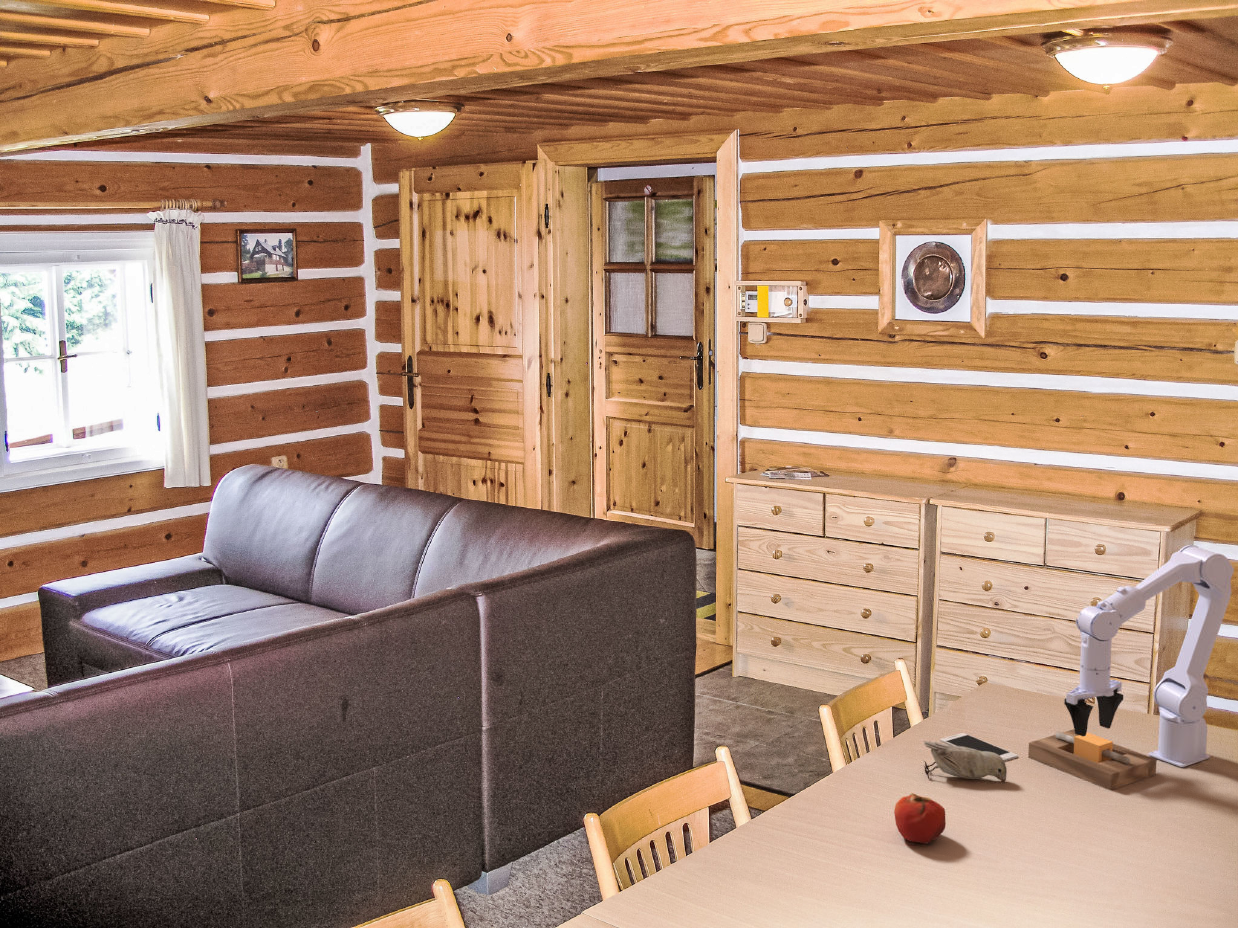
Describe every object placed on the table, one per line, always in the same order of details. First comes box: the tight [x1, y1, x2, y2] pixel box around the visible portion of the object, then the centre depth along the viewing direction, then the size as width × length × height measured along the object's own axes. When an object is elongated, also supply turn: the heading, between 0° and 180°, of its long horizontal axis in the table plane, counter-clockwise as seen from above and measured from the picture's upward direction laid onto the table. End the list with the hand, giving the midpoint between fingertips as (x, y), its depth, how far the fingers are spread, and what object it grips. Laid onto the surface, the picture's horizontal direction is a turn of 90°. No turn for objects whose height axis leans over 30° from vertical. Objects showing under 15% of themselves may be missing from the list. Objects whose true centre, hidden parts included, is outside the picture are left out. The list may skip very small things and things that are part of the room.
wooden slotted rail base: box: [1028, 728, 1158, 791], centre depth 256 cm, size 14×20×5 cm
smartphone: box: [940, 732, 1019, 762], centre depth 266 cm, size 7×16×1 cm, turn 31°
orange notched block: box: [1074, 732, 1114, 763], centre depth 255 cm, size 4×6×5 cm
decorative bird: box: [922, 740, 1007, 783], centre depth 250 cm, size 5×16×7 cm, turn 76°
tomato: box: [893, 792, 947, 844], centre depth 224 cm, size 9×9×8 cm
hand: (1092, 730), depth 255 cm, fingers open, 7 cm apart
